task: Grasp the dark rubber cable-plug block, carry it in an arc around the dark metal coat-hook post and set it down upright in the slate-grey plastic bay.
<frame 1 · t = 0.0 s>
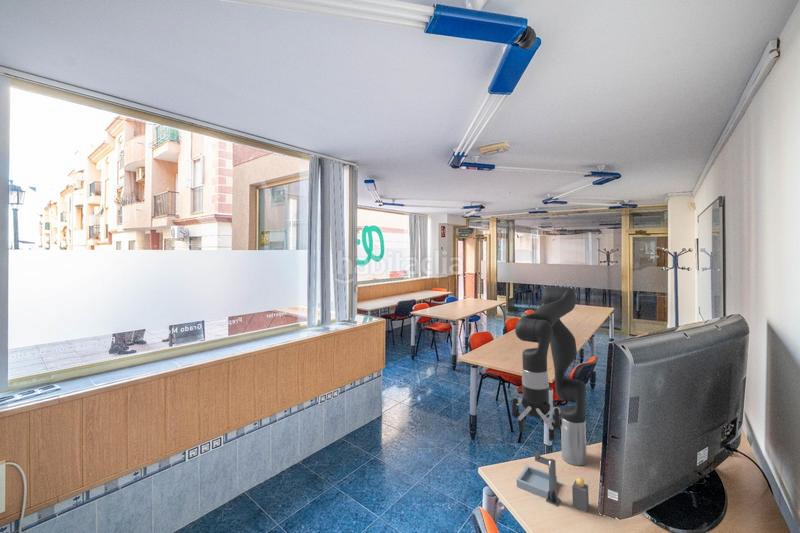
hand: (536, 435, 102), 29 cm above the table, fingers open, 8 cm apart
bay: (536, 484, 123), on the table
hook post: (553, 500, 114), resting in bay
plug block: (580, 506, 111), on the table
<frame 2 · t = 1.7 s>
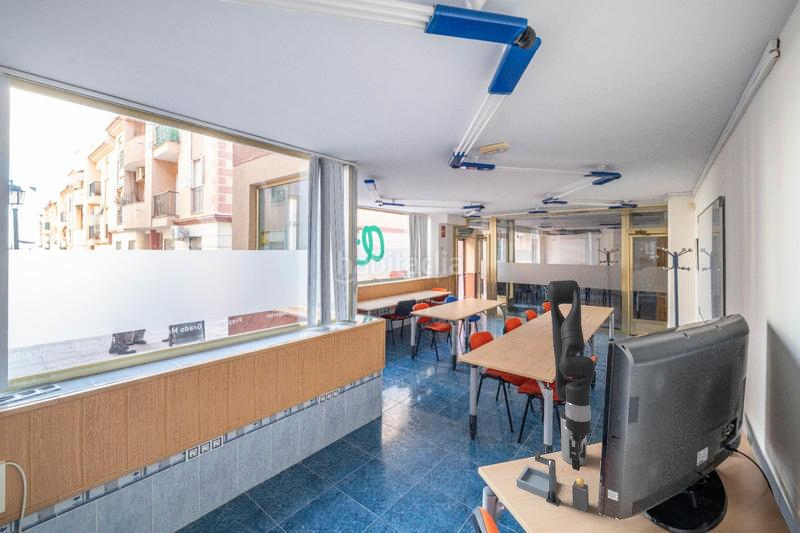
hand: (579, 463, 111), 15 cm above the table, fingers open, 8 cm apart
nothing on the table moved.
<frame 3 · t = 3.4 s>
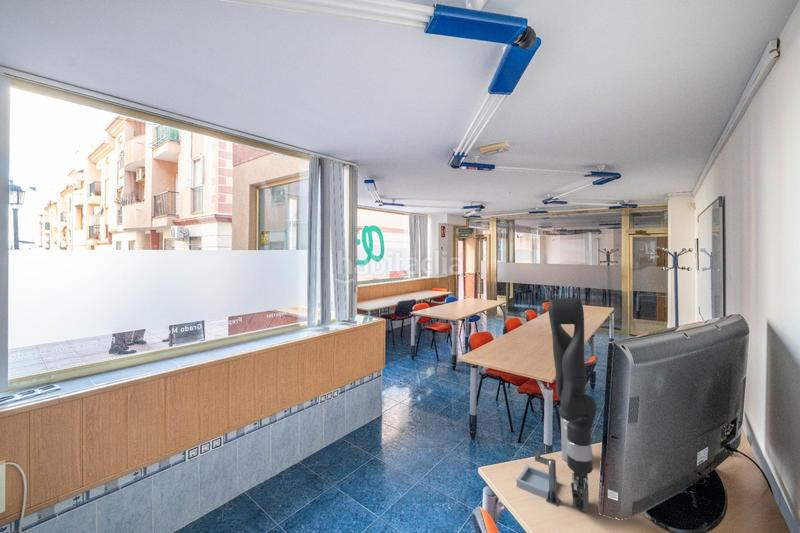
hand: (580, 503, 111), 1 cm above the table, fingers closed on plug block, 4 cm apart
plug block: (580, 506, 111), on the table, touching gripper
everything else where it was.
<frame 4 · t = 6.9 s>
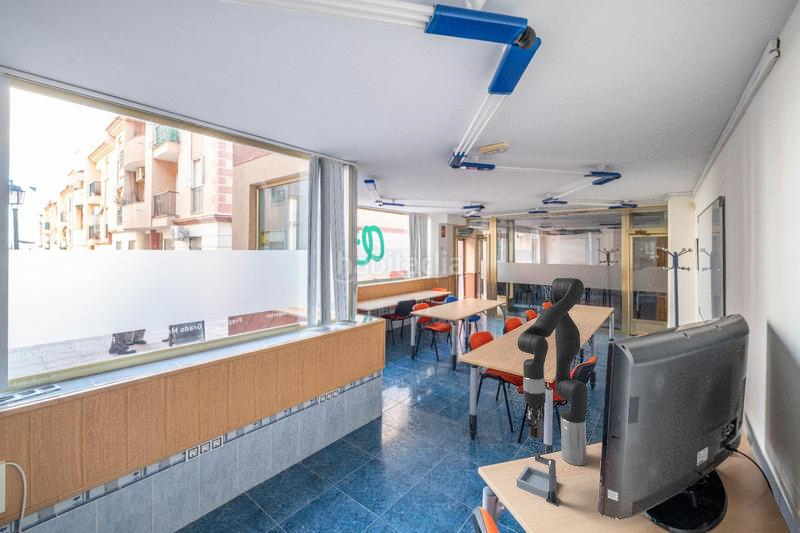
hand: (535, 434, 122), 19 cm above the table, fingers closed on plug block, 4 cm apart
plug block: (536, 436, 122), point 18 cm above the table, touching gripper
everything else where it was.
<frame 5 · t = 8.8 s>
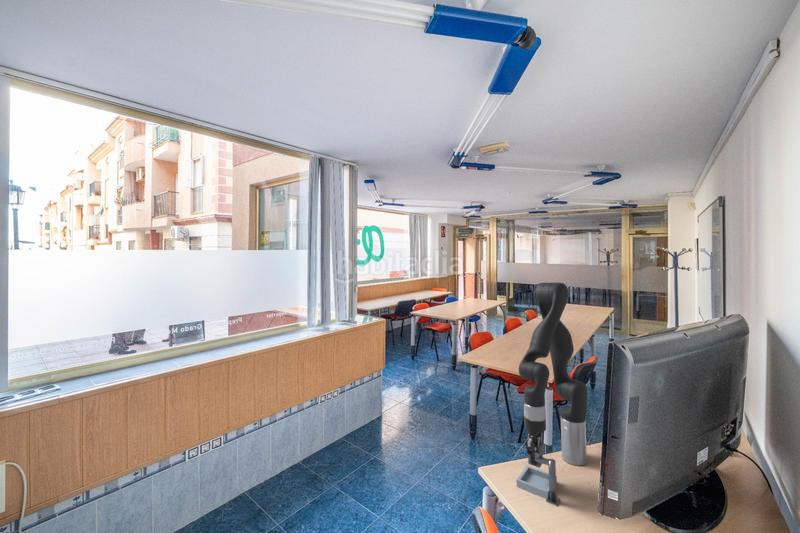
hand: (535, 461, 122), 9 cm above the table, fingers closed on plug block, 4 cm apart
plug block: (535, 463, 123), point 8 cm above the table, touching gripper
everything else where it was.
when the fingers open (3 cm above the table, at t = 10.3 s): plug block drops 2 cm, resting on bay.
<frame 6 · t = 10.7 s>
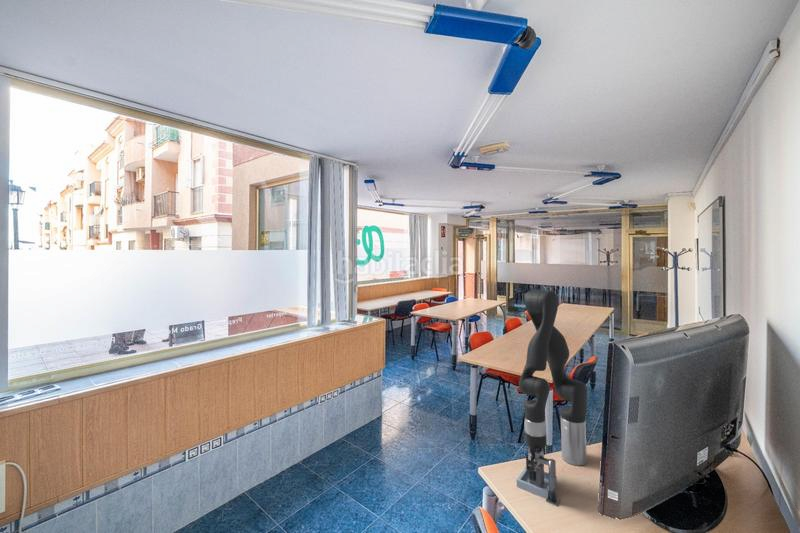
hand: (536, 473, 123), 4 cm above the table, fingers open, 8 cm apart
plug block: (537, 483, 123), resting on bay
everything else where it was.
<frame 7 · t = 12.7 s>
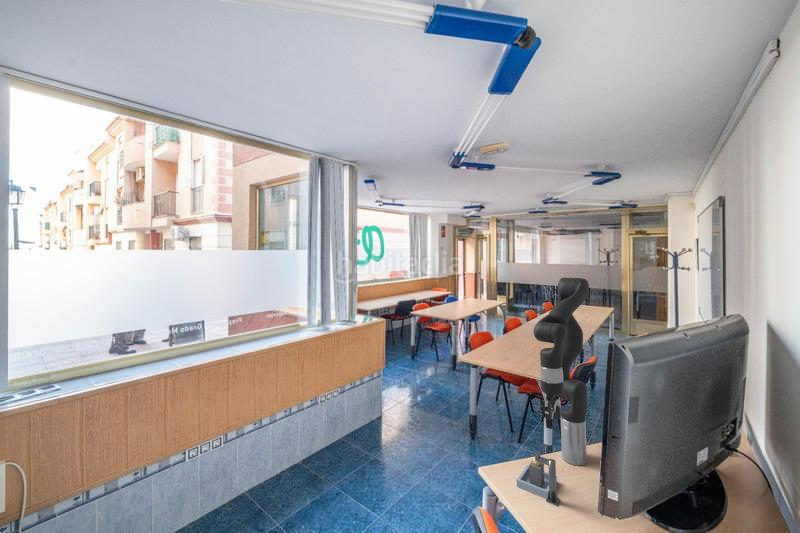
hand: (553, 423, 118), 25 cm above the table, fingers open, 8 cm apart
nothing on the table moved.
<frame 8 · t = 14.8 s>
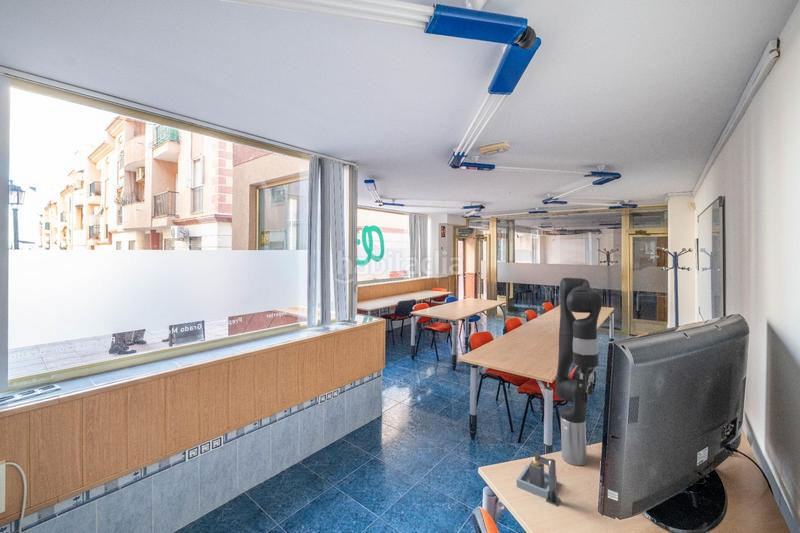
hand: (586, 398, 112), 36 cm above the table, fingers open, 8 cm apart
nothing on the table moved.
at the end: plug block inside the target area on the bay (0.2 cm from its centre), point 0.5 cm above the bay's base; plug block tilted 0°; the gripper is holding nothing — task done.
